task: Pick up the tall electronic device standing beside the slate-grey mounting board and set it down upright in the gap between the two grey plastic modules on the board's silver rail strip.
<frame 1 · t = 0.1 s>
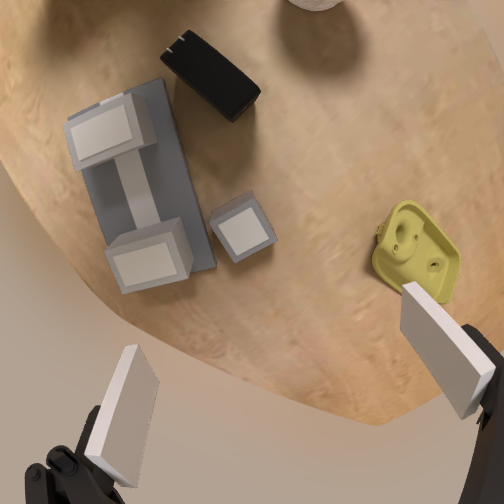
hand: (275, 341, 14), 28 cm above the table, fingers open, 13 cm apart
plastic component: (407, 247, 44), on the table
electronic device: (215, 86, 34), on the table
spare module: (242, 219, 41), on the table
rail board: (140, 187, 38), on the table
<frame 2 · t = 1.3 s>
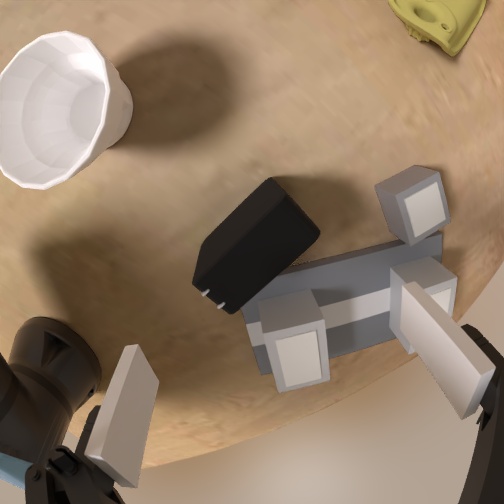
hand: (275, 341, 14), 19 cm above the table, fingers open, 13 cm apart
plastic component: (428, 5, 22), on the table
cup: (97, 112, 26), on the table
electronic device: (248, 222, 32), on the table
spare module: (402, 198, 32), on the table
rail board: (350, 303, 36), on the table
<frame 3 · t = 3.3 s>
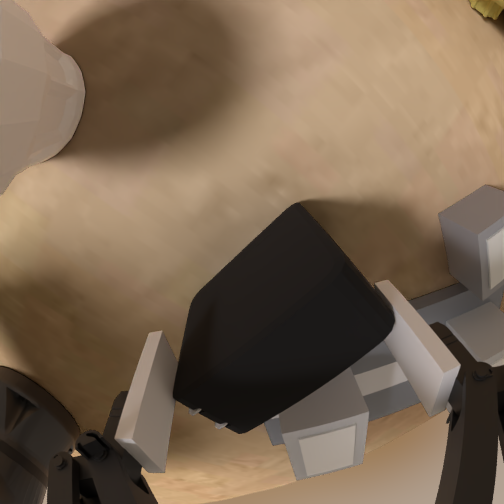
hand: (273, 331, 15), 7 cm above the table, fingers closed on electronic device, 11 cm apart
cup: (39, 106, 16), on the table
electronic device: (261, 269, 21), on the table, touching gripper
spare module: (468, 229, 21), on the table
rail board: (390, 363, 26), on the table
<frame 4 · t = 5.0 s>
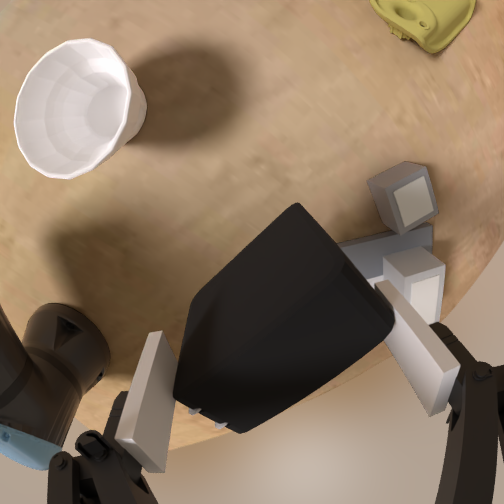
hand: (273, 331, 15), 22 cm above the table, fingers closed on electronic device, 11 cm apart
plastic component: (414, 7, 25), on the table
cup: (113, 111, 29), on the table
electronic device: (261, 269, 21), point 15 cm above the table, touching gripper
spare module: (393, 191, 35), on the table
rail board: (345, 290, 39), on the table
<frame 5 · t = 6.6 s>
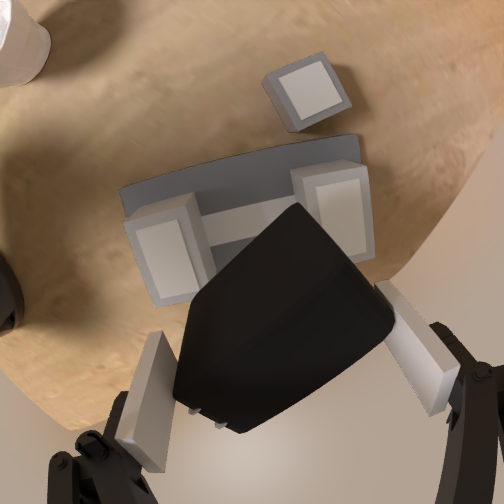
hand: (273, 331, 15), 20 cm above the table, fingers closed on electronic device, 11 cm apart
cup: (27, 55, 23), on the table
electronic device: (261, 268, 21), point 13 cm above the table, touching gripper
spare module: (299, 95, 29), on the table
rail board: (250, 217, 33), on the table
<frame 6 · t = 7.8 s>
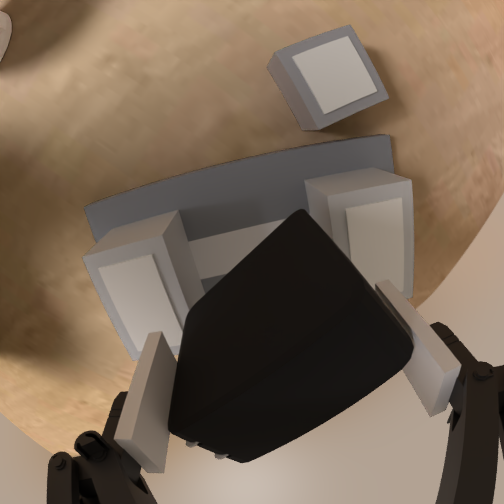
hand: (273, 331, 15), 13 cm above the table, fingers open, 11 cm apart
electronic device: (261, 280, 19), point 7 cm above the table, touching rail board
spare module: (316, 83, 21), on the table
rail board: (252, 240, 26), on the table
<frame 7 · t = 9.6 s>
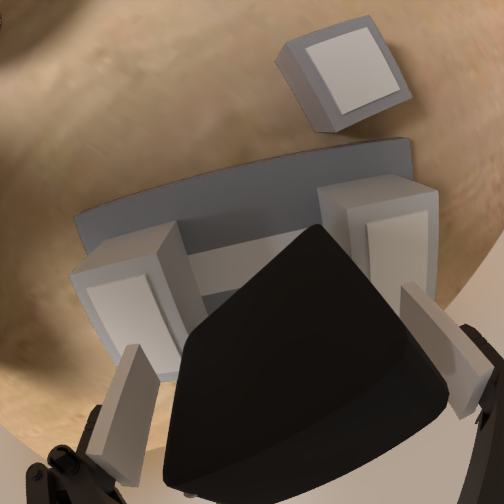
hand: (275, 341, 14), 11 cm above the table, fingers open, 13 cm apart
electronic device: (270, 303, 17), point 7 cm above the table, touching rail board
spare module: (329, 80, 19), on the table
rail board: (258, 254, 24), on the table
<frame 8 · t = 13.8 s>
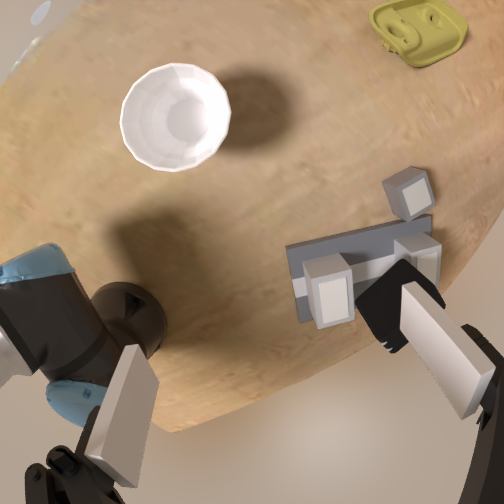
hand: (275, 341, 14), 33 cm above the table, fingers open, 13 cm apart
plastic component: (408, 31, 35), on the table
cup: (188, 120, 40), on the table
electronic device: (383, 286, 43), point 7 cm above the table, touching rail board
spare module: (401, 190, 45), on the table
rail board: (365, 266, 50), on the table
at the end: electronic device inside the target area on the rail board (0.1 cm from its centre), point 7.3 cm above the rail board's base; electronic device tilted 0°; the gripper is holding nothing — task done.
